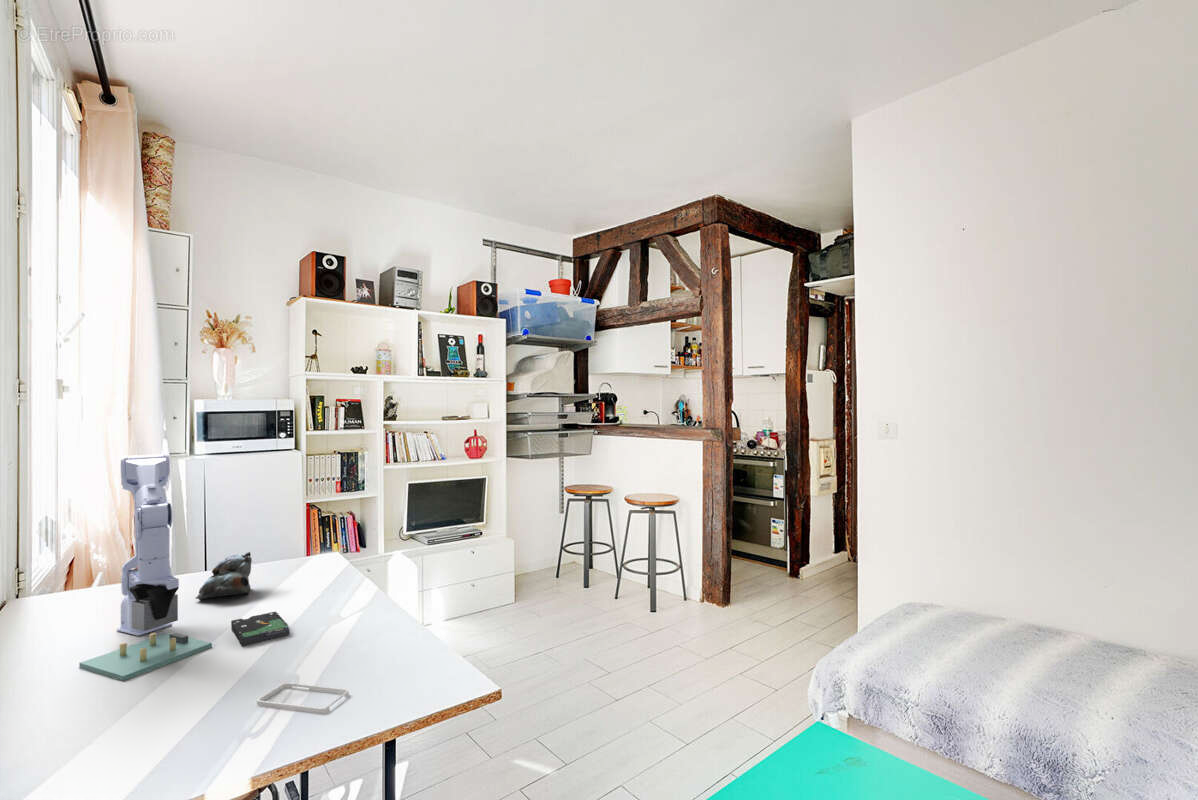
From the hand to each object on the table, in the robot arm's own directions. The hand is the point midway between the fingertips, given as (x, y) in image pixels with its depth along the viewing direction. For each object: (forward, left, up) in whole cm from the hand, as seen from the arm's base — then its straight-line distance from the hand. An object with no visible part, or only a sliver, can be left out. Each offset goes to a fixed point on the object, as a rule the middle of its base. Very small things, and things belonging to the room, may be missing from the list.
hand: (154, 616), depth 132 cm
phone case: (+49, -1, -9) cm, 50 cm away
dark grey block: (0, 0, -2) cm, 2 cm away
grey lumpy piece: (-25, +33, -9) cm, 42 cm away
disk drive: (+10, +18, -9) cm, 23 cm away
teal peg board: (0, -1, -8) cm, 9 cm away
